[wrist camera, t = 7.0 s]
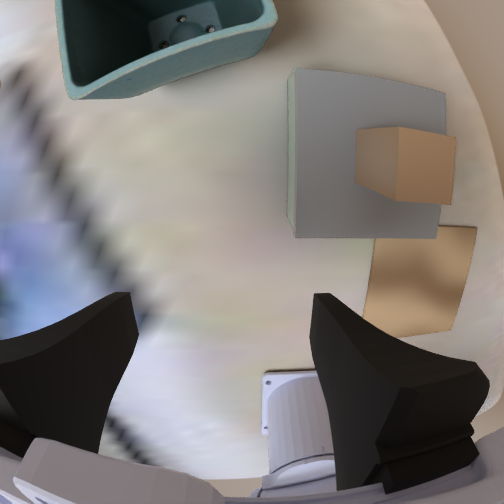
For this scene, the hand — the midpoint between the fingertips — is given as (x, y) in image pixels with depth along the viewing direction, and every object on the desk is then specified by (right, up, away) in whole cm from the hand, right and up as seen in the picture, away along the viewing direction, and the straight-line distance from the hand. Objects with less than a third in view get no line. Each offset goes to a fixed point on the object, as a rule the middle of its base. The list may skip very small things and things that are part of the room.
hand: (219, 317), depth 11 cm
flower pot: (-3, +17, +5) cm, 18 cm away
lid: (+8, +8, +4) cm, 12 cm away
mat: (+15, 0, +11) cm, 18 cm away
